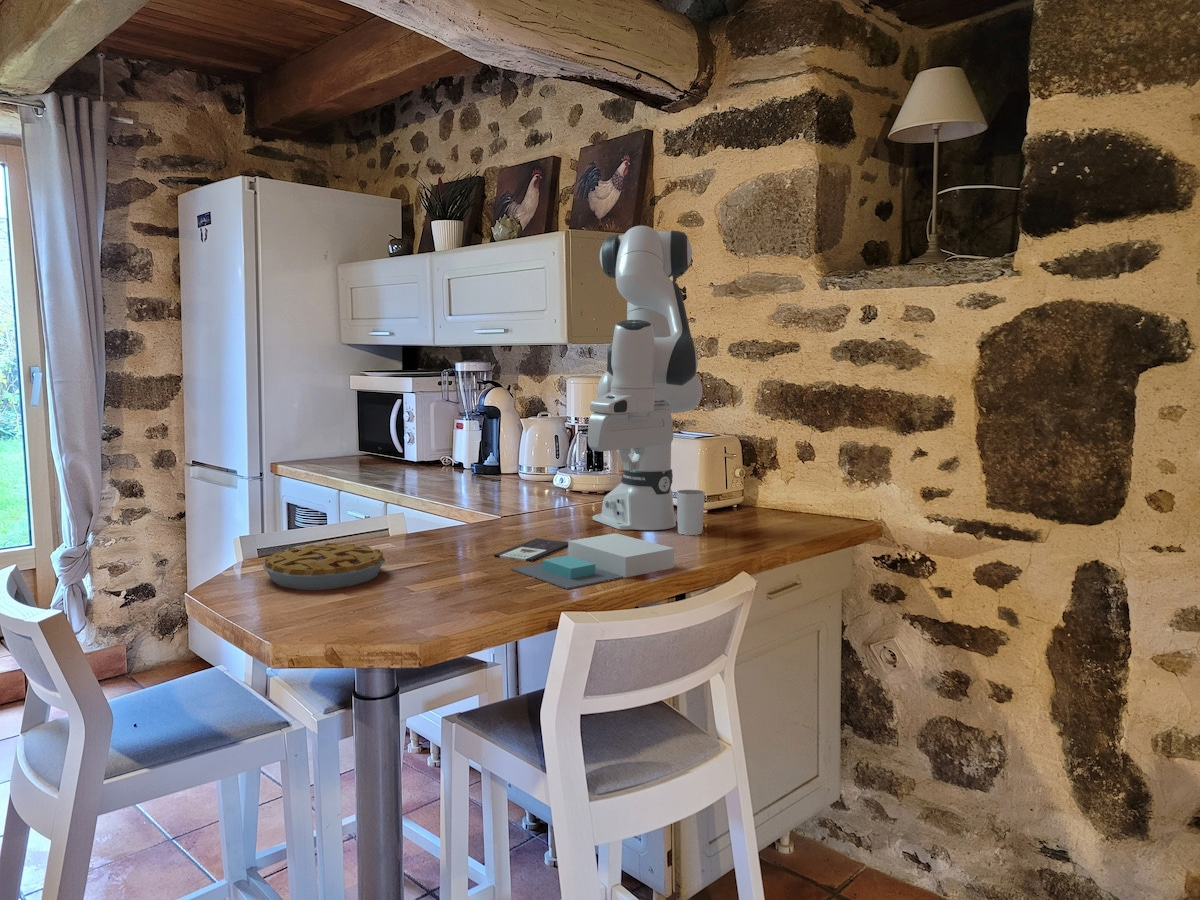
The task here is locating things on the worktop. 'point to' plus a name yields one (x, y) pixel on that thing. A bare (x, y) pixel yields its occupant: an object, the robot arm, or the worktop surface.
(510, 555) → the chocolate bar
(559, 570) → the teal block
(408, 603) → the worktop surface
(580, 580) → the mat
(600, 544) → the grey flat block
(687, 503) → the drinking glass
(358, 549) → the pie
